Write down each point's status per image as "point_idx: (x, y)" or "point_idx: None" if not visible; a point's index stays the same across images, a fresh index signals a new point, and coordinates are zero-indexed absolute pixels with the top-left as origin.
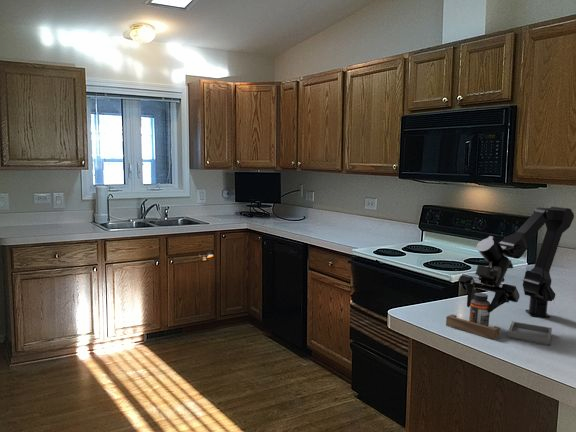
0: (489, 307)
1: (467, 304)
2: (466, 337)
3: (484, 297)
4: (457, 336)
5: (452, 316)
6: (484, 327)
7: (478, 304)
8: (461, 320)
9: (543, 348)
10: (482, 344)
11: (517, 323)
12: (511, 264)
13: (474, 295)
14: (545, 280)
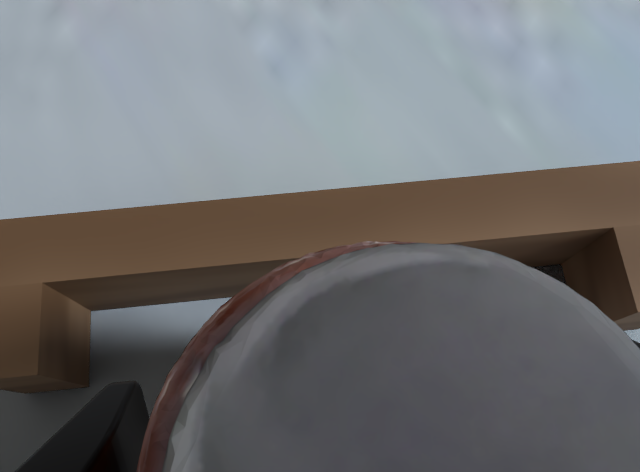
0: (95, 428)
1: None
2: (250, 87)
3: (199, 381)
4: (316, 43)
5: (627, 223)
6: (122, 211)
7: (306, 257)
8: (450, 184)
9: None
10: (59, 58)
11: None
12: None
13: (595, 335)
14: None
